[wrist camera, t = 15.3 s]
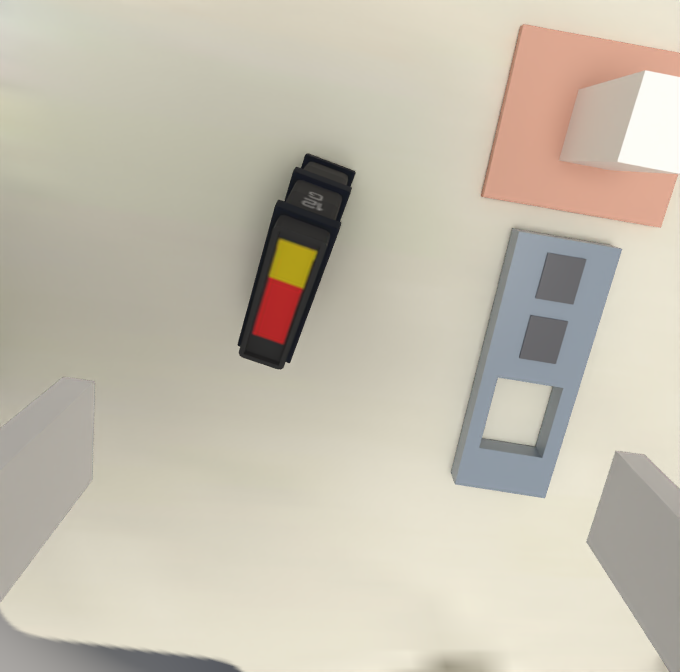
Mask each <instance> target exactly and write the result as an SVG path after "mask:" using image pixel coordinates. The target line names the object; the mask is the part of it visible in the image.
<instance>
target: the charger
mask: <svg viewBox="0 0 680 672" xmlns="http://www.w3.org/2000/svg"><path fill="white" fill-rule="evenodd" d="M559 161H564V162H570V163H575V164H580V165H585V166H590V167H596V168H601V169H606V170H613V171H631V172H648V173H666V174H680V77H677V76H672V75H667V74H662V73H657V72H652V71H646V70H645V71H641V72H638V73H634V74H631V75H627V76H624V77H620V78H617V79H613V80H610V81H606V82H603V83H599V84H596V85H593V86H589V87H586V88H582V89H579V90H578V94H577V97H576V101H575V104H574V108H573V112H572V115H571V119H570V122H569V126H568V130H567V133H566V137H565V140H564V144H563V147H562V151H561V155H560V158H559Z"/></svg>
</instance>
